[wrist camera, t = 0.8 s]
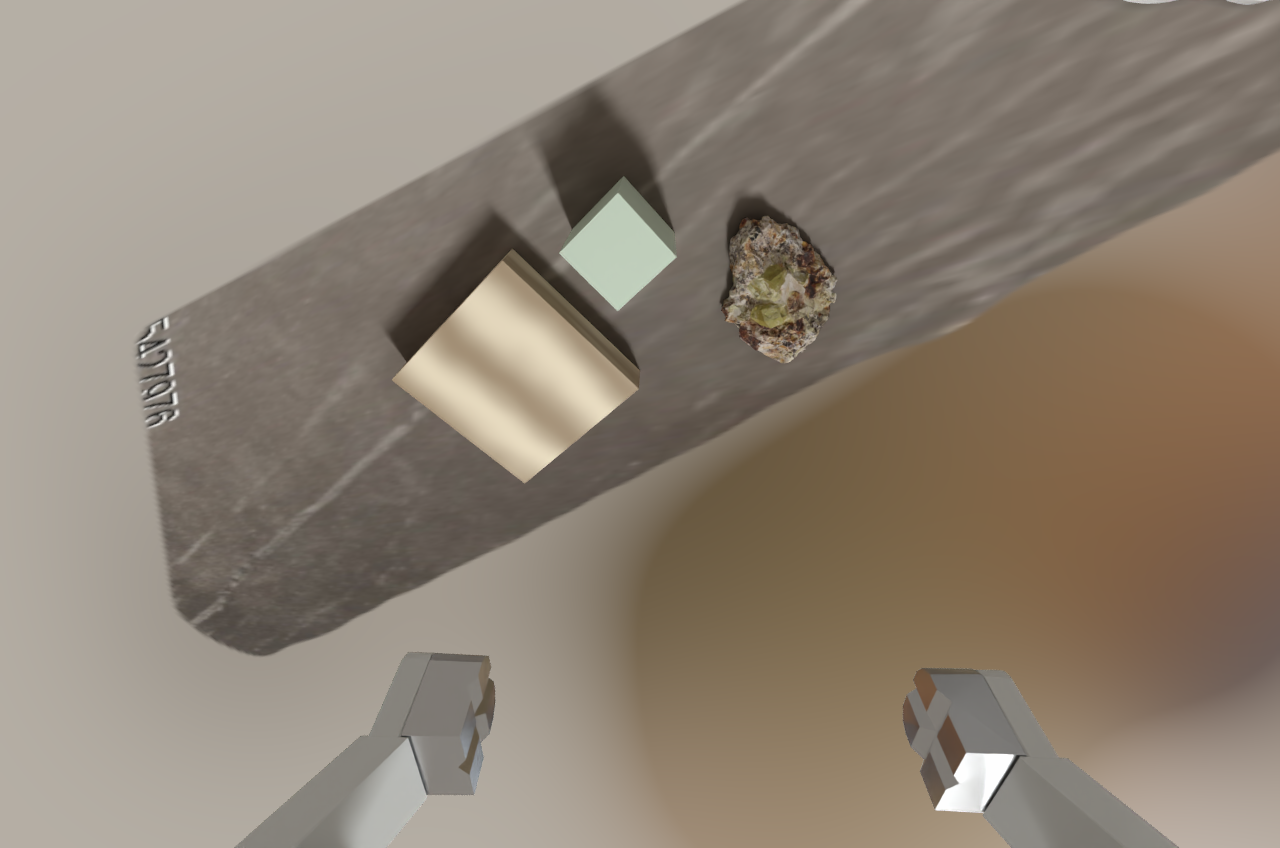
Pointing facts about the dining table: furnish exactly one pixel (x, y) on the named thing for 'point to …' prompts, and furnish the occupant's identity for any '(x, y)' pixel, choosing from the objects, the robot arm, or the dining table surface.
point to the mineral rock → (777, 289)
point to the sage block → (620, 244)
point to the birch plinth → (519, 370)
